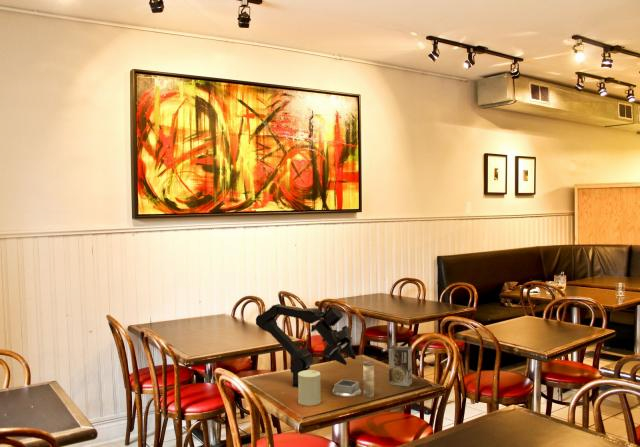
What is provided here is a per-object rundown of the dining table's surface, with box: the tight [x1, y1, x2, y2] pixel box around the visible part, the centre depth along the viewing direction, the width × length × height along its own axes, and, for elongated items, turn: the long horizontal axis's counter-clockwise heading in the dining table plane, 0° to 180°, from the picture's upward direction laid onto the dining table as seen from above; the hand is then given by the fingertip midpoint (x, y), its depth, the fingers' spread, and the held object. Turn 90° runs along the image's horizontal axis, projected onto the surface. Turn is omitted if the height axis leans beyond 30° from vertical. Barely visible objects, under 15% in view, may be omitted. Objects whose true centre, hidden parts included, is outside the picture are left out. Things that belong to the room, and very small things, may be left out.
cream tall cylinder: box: [362, 360, 375, 398], centre depth 227 cm, size 4×4×14 cm
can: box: [297, 369, 322, 407], centre depth 220 cm, size 9×9×12 cm
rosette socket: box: [332, 378, 362, 398], centre depth 232 cm, size 12×12×4 cm
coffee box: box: [388, 345, 413, 388], centre depth 242 cm, size 9×6×16 cm
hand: (350, 361), depth 231 cm, fingers open, 9 cm apart
